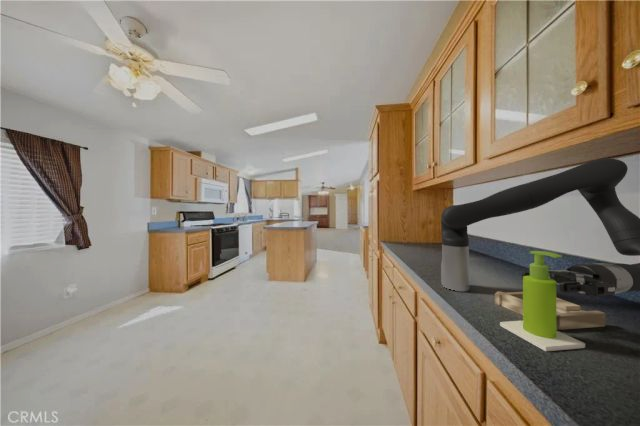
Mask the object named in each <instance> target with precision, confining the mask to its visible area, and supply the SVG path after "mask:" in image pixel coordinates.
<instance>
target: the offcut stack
mask: <svg viewBox="0 0 640 426" xmlns="http://www.w3.org/2000/svg"><path fill="white" fill-rule="evenodd" d="M583 311H585V310H584V309H581V305H578V304H576V303H573V302H570V301H567V300H564V299H562V298H559V297H557V296H556V313H568V312H583Z"/></svg>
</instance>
